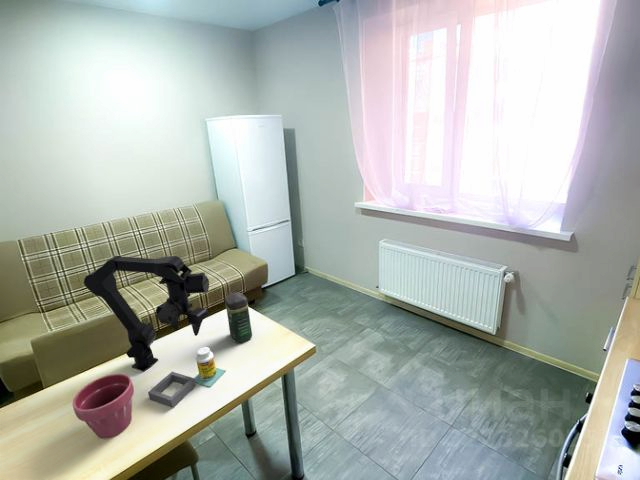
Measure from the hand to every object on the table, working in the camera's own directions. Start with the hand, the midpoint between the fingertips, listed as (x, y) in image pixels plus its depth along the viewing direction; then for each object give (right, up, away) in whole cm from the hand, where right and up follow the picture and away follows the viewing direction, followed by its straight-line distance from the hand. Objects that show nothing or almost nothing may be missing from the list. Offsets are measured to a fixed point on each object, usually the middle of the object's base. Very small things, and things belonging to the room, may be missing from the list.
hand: (186, 332), depth 119 cm
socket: (0, -17, -10) cm, 19 cm away
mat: (+9, -14, -4) cm, 17 cm away
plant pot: (-13, -22, -21) cm, 32 cm away
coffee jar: (+15, -7, +17) cm, 24 cm away
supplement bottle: (+9, -14, -4) cm, 17 cm away
